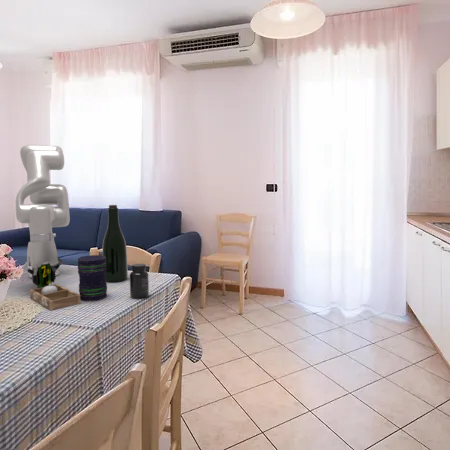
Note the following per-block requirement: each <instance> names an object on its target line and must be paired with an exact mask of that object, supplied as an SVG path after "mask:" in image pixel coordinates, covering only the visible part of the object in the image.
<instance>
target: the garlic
mask: <svg viewBox="0 0 450 450" xmlns="http://www.w3.org/2000/svg"><path fill="white" fill-rule="evenodd" d="M50 285H51V283H50V284H49V286H46V287H44V288H43V289H42V291H41V295H43V294H47V293H52V292H57V287H56V286H50Z"/></svg>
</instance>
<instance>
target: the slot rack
mask: <svg viewBox="0 0 450 450" xmlns="http://www.w3.org/2000/svg"><path fill="white" fill-rule="evenodd" d="M52 286H56V287H57V292H52V293H47V294H43V295H41V291H42V289H43V288H44V287H42V288H37V287H36V288H33V289H30V290H29V298H30V299H32V300H33V301H35V302H36V301H37V302H36V303H38V304H40V305H41V306H43V307H45V308H47V309H48V310H50V311H54V310H57V309H58V310H59V309H62V308H66V307H70V306H74V305H78V304H81V300H80V295H79V293H78V292H75V291H73V290H71V289H68V288H67V287H65V286H62V285H60V284H57V283H56V284H54V285H53V284H52Z"/></svg>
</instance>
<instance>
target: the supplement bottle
mask: <svg viewBox="0 0 450 450" xmlns="http://www.w3.org/2000/svg"><path fill="white" fill-rule="evenodd" d="M146 269H147V268H146V264H144V263H135V264H132V266H131V272H130V273H129V294H130V295H129V296H130V298H131V299H137V300H139V299H141V300H142V299H145V298H147V297H148V296H149V294H150V291H149V290H150V287H149V273H148V271H146Z"/></svg>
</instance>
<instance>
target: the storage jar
mask: <svg viewBox="0 0 450 450" xmlns="http://www.w3.org/2000/svg"><path fill="white" fill-rule="evenodd" d="M105 259H106V257H105V256H102V255H99V254H98V255H97V254H92V255H91V254H89V255H84V256H80V257H78V258H77V269H78V270H77V274H78V277H79V279H78V280H79V281H78V282H79V283H78V294H79V295H80V301H82V302H96V301H97V302H98V301H100V300H104V299H106V298H107V297H108V286H107V285H108V284H107V283H108V282H107V281H106V274H105V272H106V261H105Z"/></svg>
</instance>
